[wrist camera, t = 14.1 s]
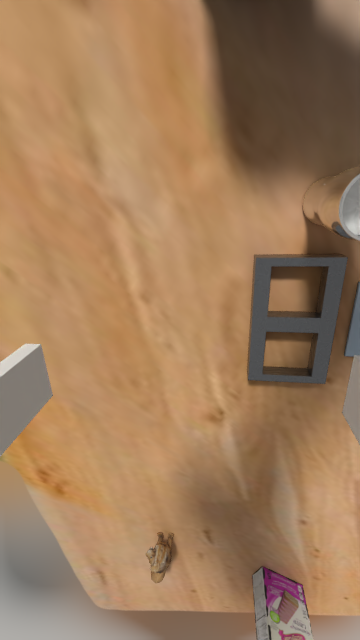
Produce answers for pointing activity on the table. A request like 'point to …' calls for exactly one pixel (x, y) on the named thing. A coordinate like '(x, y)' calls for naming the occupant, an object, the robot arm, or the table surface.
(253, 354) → the dark grey slotted frame
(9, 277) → the table surface
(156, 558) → the lion figurine
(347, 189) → the silver metal tumbler
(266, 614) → the candy bar box
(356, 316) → the slate mat
